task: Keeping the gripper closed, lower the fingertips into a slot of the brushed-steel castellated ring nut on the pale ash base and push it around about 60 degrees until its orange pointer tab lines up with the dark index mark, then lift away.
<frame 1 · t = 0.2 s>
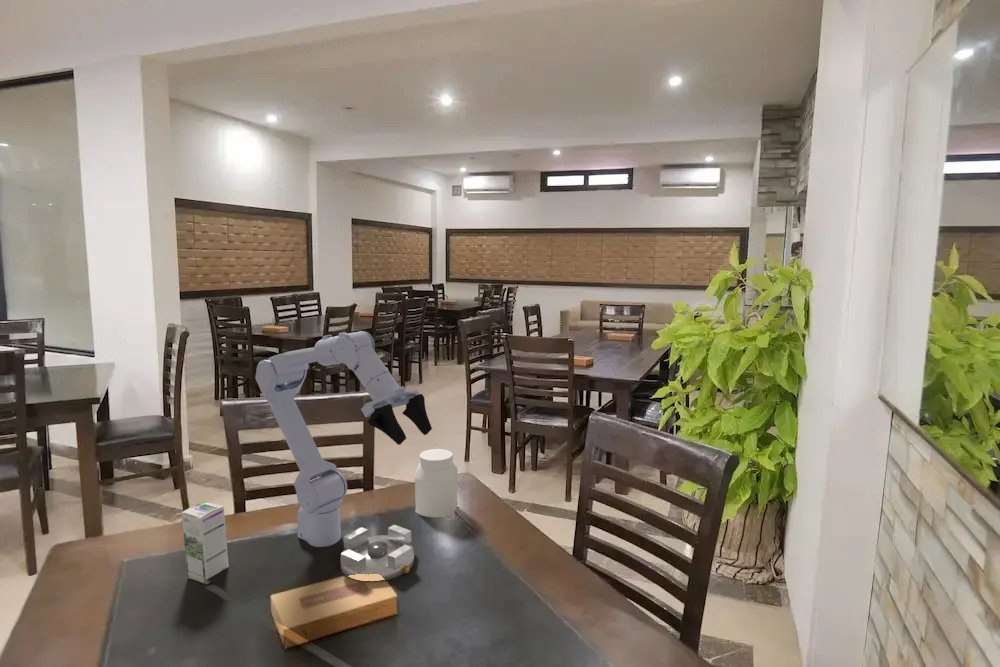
hand: (415, 436, 113), 30 cm above the table, tool tilted 45°, fingers open, 7 cm apart
jar: (436, 511, 150), on the table
syrup box: (208, 576, 120), on the table
nut base: (378, 567, 124), on the table
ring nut: (379, 552, 123), point 3 cm above the table, hinge at 0.0°
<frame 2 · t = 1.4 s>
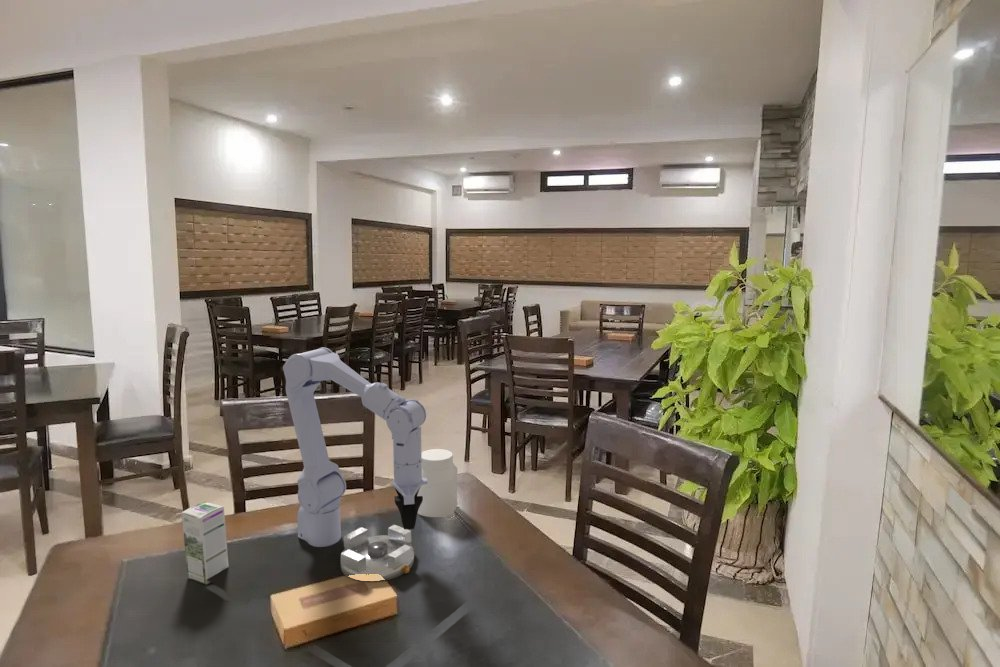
hand: (408, 522, 124), 9 cm above the table, tool pointing down, fingers open, 5 cm apart
nothing on the table moved.
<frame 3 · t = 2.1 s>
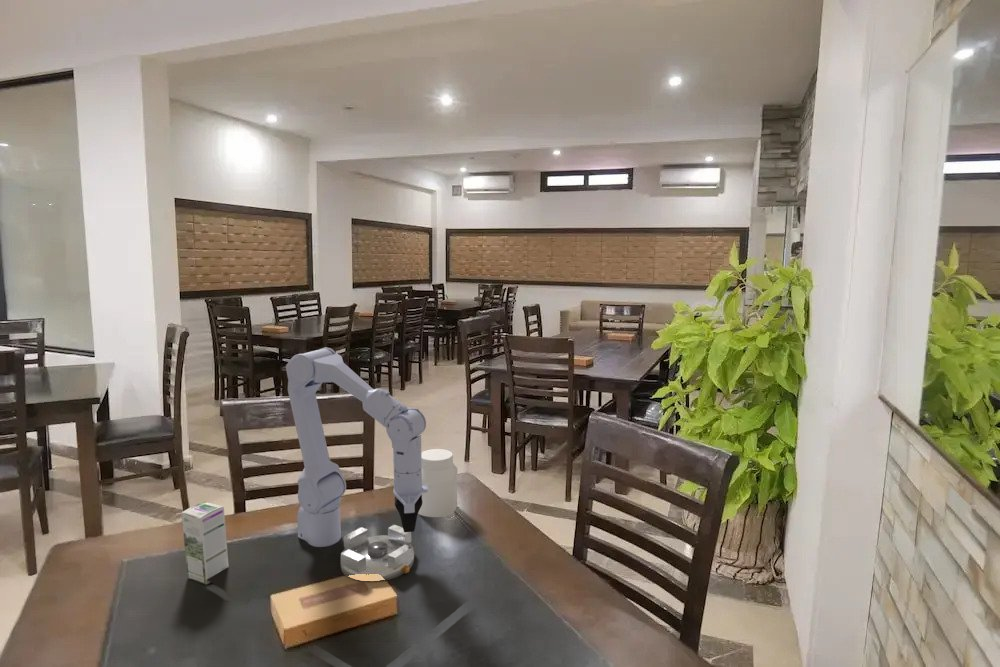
hand: (409, 530, 124), 8 cm above the table, tool pointing down, fingers closed
nothing on the table moved.
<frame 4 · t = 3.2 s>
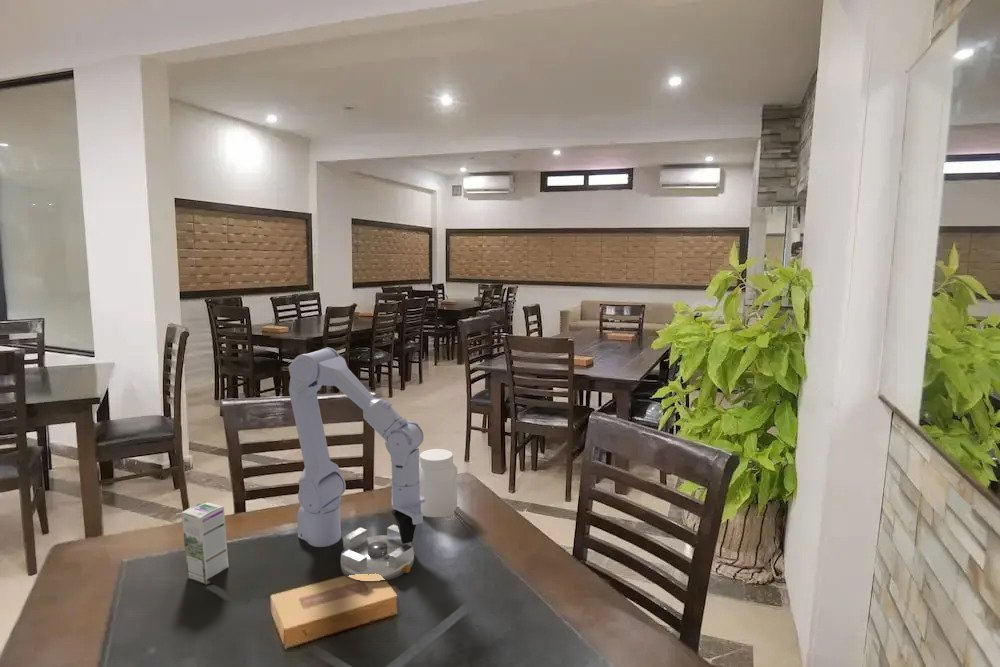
hand: (407, 542, 126), 4 cm above the table, tool pointing down, fingers closed
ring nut: (379, 552, 123), point 3 cm above the table, hinge at 1.7°, touching gripper
everything else where it was.
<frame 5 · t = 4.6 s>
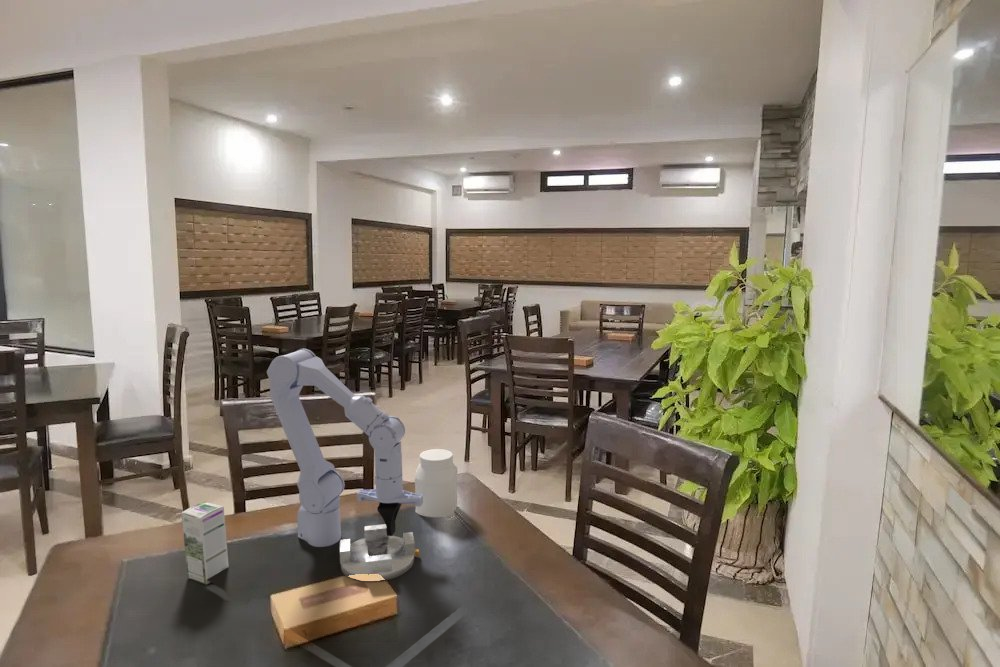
hand: (390, 533, 129), 4 cm above the table, tool pointing down, fingers closed, pressing on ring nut
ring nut: (380, 551, 123), point 3 cm above the table, hinge at 48.3°, touching gripper
everything else where it was.
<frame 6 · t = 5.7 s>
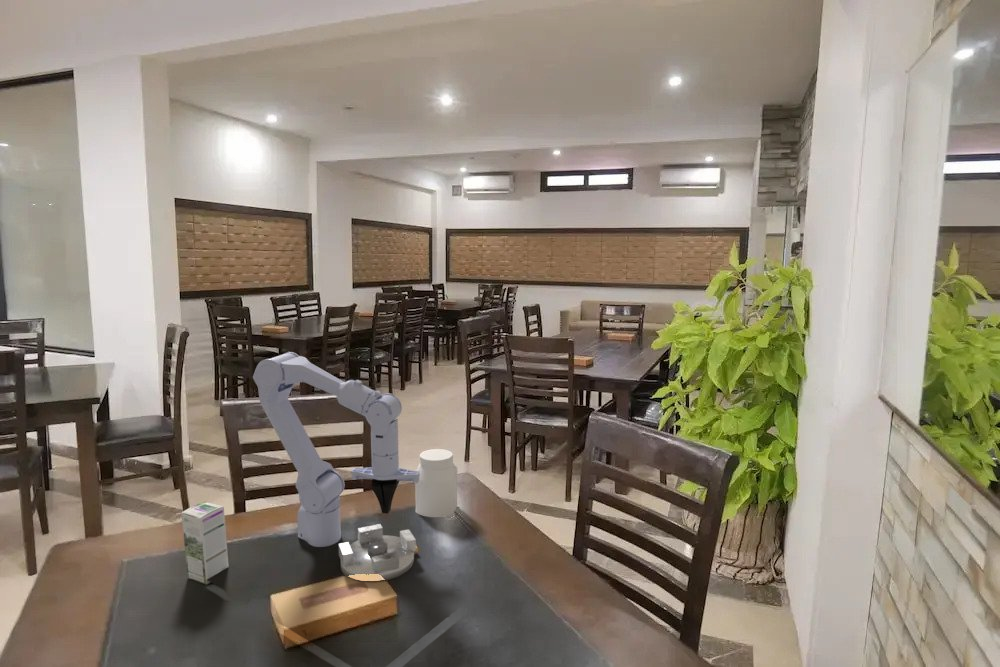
hand: (386, 511, 129), 9 cm above the table, tool pointing down, fingers closed
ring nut: (380, 551, 124), point 3 cm above the table, hinge at 59.9°
everything else where it was.
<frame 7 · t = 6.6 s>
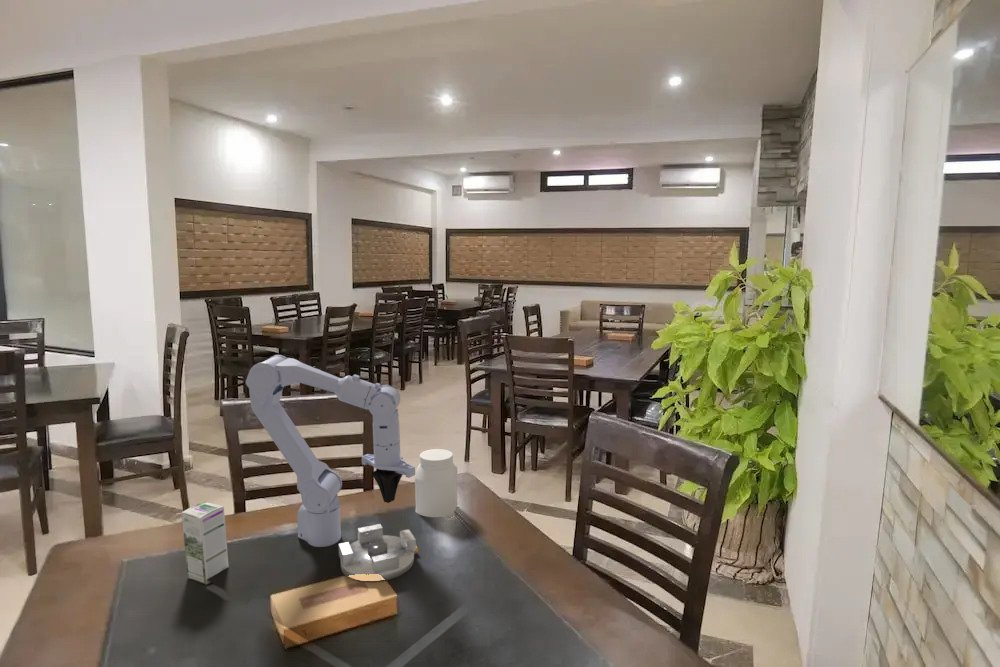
hand: (389, 500, 132), 10 cm above the table, tool pointing down, fingers closed
nothing on the table moved.
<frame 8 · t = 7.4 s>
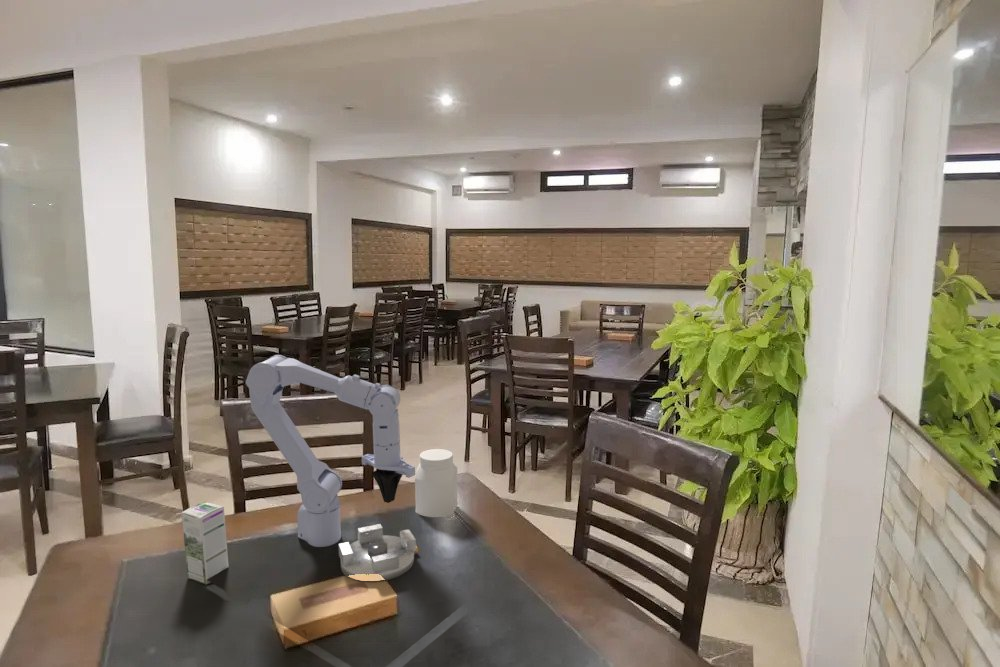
hand: (389, 500, 132), 10 cm above the table, tool pointing down, fingers closed
nothing on the table moved.
at the end: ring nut at +60° (first picture: +0°); the gripper is holding nothing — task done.
